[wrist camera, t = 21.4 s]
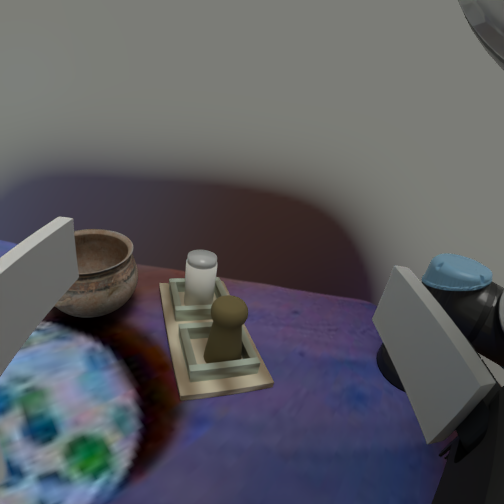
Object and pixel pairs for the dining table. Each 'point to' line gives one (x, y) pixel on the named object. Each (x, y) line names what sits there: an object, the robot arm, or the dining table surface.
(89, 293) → the cooking pot
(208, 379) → the condiment caddy
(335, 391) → the dining table surface
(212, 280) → the salt shaker
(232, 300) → the pepper mill
